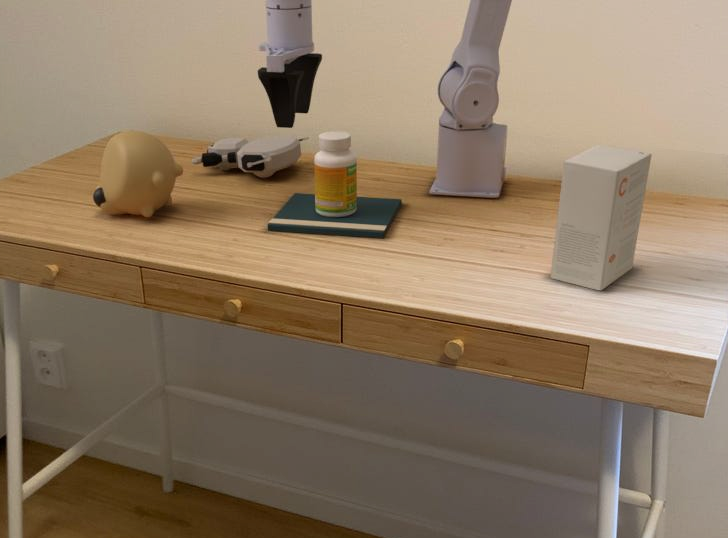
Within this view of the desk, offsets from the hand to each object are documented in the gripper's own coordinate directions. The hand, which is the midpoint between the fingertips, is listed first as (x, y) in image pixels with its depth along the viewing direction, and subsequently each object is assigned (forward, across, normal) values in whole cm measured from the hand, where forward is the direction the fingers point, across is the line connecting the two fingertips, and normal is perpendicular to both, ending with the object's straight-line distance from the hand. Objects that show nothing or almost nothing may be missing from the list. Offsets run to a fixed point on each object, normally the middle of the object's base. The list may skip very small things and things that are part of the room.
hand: (292, 119), depth 123 cm
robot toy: (+11, -11, -10) cm, 18 cm away
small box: (+11, +20, +40) cm, 46 cm away
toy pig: (+11, +10, -19) cm, 24 cm away
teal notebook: (+10, +7, +8) cm, 15 cm away
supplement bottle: (+10, +7, +7) cm, 14 cm away
